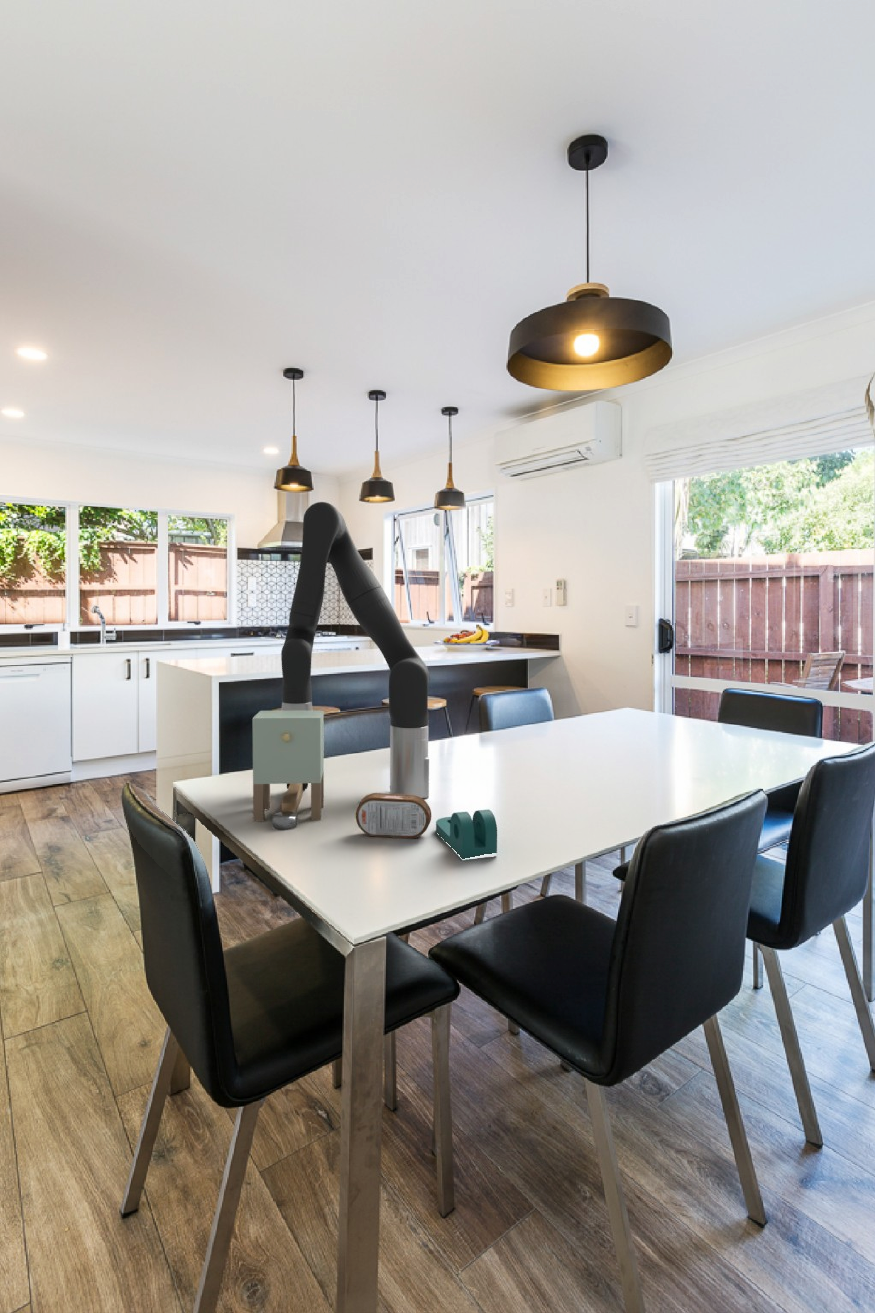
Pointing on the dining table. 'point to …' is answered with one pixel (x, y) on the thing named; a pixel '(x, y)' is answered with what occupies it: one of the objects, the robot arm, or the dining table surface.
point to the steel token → (284, 820)
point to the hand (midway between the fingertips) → (297, 790)
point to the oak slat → (292, 797)
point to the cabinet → (288, 756)
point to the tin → (393, 815)
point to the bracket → (469, 833)
